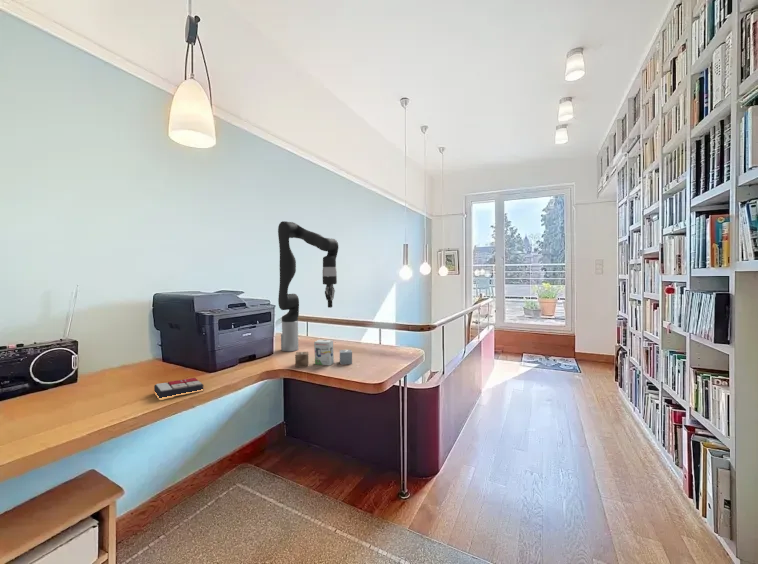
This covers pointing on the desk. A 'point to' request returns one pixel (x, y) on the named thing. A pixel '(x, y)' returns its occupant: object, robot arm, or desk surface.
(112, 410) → the desk surface
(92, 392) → the desk surface
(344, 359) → the numbered block seven
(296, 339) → the robot arm
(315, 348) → the ink box
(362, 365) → the desk surface
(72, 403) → the desk surface
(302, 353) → the numbered block one
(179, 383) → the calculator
